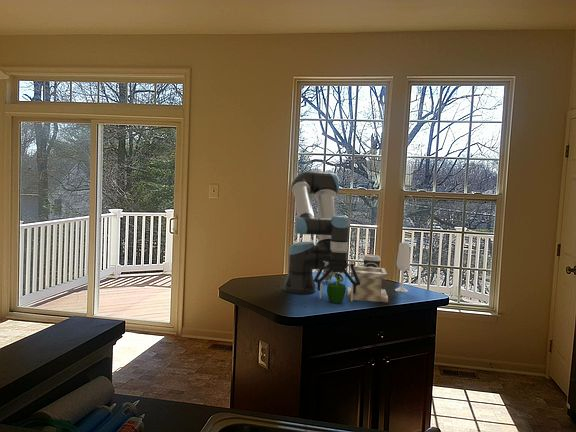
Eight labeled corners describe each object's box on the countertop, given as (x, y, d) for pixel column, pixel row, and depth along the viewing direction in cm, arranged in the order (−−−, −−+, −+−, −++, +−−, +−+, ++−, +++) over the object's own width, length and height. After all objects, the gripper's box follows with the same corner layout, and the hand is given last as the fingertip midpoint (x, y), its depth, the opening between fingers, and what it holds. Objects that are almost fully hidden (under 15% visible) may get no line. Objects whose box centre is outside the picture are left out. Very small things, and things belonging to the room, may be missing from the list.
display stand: (347, 299, 208) (348, 271, 208) (347, 290, 226) (349, 265, 225) (387, 302, 206) (389, 274, 205) (384, 293, 224) (386, 268, 223)
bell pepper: (329, 304, 197) (330, 281, 197) (324, 299, 205) (325, 277, 205) (347, 304, 199) (349, 281, 198) (342, 299, 207) (343, 277, 206)
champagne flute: (393, 288, 236) (395, 242, 234) (405, 289, 236) (408, 242, 235) (397, 291, 229) (400, 243, 227) (410, 292, 229) (413, 244, 228)
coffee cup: (383, 284, 245) (385, 256, 244) (370, 286, 240) (372, 257, 239) (370, 281, 253) (372, 253, 252) (357, 282, 248) (359, 254, 247)
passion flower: (326, 292, 245) (316, 272, 248) (340, 286, 251) (330, 267, 255) (336, 284, 236) (326, 263, 240) (352, 278, 242) (341, 258, 246)
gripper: (309, 250, 199) (306, 298, 200) (367, 254, 195) (365, 303, 197) (310, 248, 206) (308, 295, 207) (367, 251, 203) (364, 299, 204)
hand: (336, 299), depth 202 cm, fingers open, 13 cm apart
